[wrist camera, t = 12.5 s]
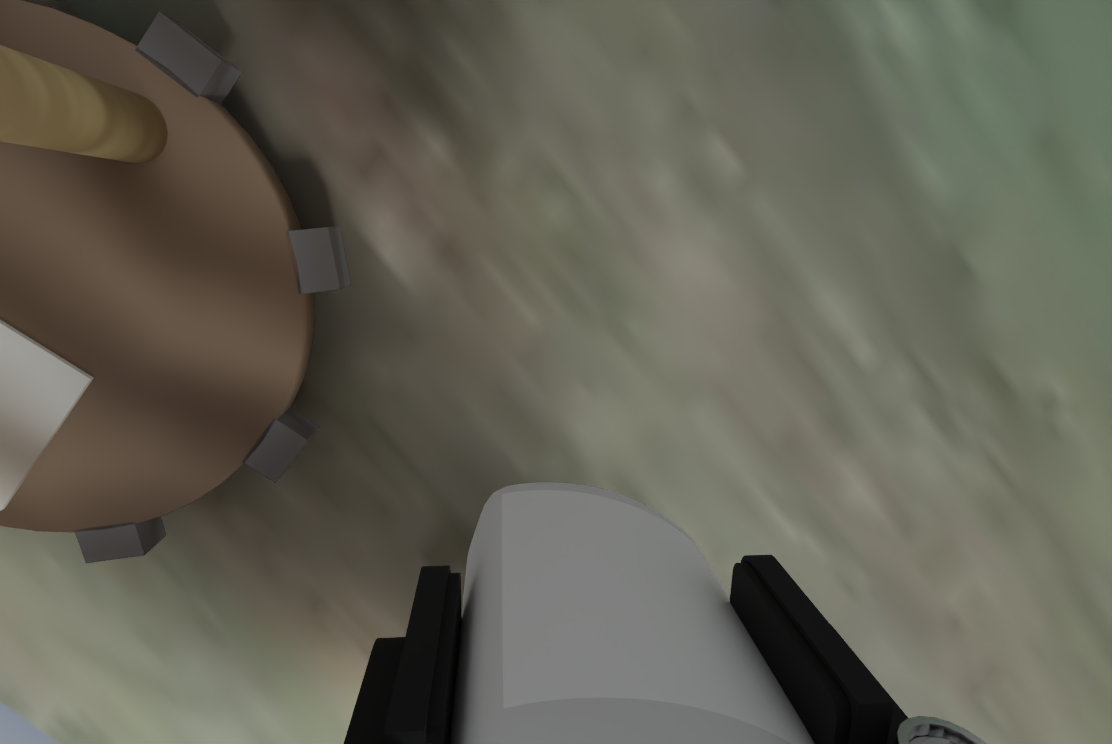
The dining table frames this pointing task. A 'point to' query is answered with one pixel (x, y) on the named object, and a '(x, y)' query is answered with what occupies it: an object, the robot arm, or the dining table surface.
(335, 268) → the sprocket
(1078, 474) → the dining table surface
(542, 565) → the eye dropper bottle
